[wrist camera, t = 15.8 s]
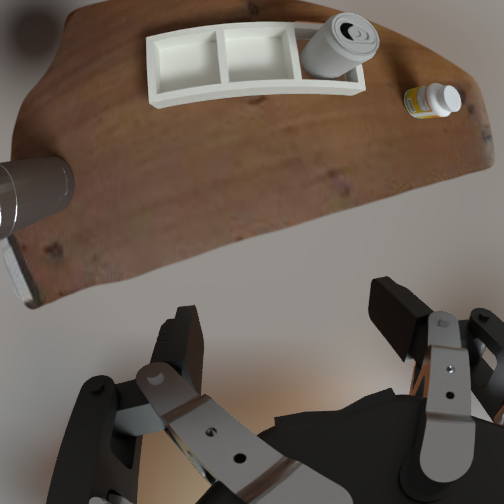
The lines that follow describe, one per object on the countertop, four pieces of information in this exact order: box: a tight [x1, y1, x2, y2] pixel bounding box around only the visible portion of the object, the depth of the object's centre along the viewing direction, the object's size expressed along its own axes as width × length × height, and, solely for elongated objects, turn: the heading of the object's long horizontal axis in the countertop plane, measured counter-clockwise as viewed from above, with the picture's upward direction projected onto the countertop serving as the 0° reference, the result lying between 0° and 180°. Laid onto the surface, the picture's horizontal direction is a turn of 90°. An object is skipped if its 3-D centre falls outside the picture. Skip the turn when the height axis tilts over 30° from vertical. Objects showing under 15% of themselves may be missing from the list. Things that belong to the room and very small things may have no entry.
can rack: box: [146, 21, 366, 109], centre depth 29 cm, size 28×10×4 cm, turn 96°
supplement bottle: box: [404, 83, 461, 118], centre depth 30 cm, size 5×5×10 cm
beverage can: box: [300, 13, 379, 80], centre depth 25 cm, size 6×6×12 cm
